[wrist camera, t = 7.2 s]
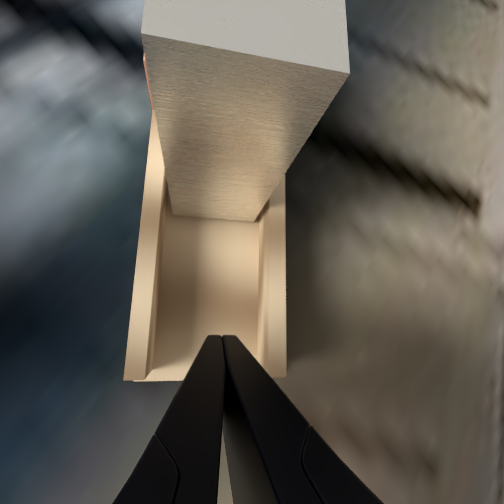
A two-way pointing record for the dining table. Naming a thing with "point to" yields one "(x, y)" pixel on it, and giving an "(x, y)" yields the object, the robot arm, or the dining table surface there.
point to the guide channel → (204, 282)
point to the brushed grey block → (239, 94)
